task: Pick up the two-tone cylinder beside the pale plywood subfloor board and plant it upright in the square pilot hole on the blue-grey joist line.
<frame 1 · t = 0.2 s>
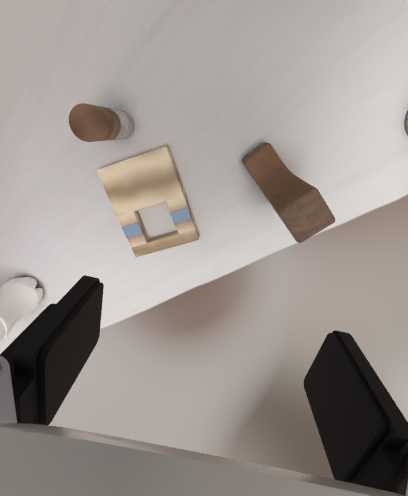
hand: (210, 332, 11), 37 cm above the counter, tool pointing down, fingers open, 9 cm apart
two-tone cylinder: (121, 125, 42), on the counter
water bottle: (30, 287, 56), on the counter
wooden block: (267, 173, 44), on the counter
subfloor board: (152, 203, 47), on the counter
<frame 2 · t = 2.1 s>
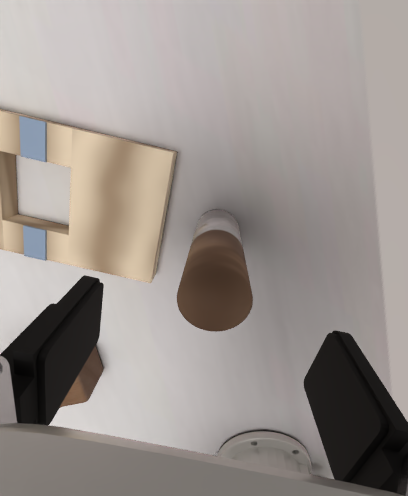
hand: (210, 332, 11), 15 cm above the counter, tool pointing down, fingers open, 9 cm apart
two-tone cylinder: (217, 230, 25), on the counter
wooden block: (65, 356, 33), on the counter
subfloor board: (81, 198, 25), on the counter
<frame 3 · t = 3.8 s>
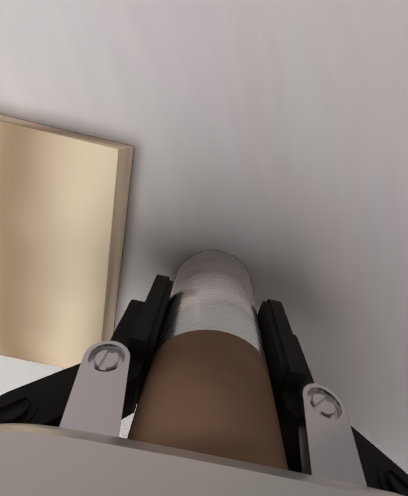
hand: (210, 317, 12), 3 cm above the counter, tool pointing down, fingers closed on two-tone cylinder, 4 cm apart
two-tone cylinder: (212, 284, 15), on the counter, touching gripper
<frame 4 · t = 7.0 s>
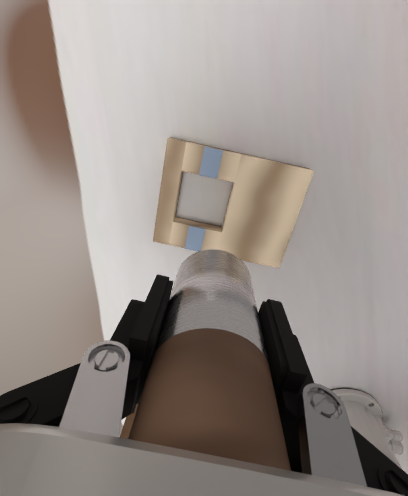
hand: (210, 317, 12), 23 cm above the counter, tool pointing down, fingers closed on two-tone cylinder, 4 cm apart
two-tone cylinder: (213, 283, 14), point 20 cm above the counter, touching gripper
subfloor board: (227, 204, 33), on the counter
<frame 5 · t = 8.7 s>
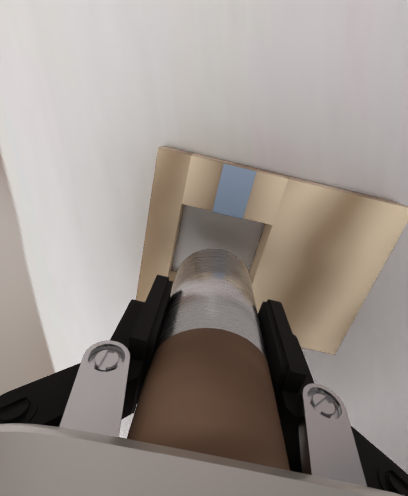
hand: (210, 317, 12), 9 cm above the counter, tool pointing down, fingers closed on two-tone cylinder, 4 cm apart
two-tone cylinder: (212, 283, 14), point 6 cm above the counter, touching gripper
subfloor board: (255, 253, 20), on the counter
when the fingers open (4 cm above the counter, at t = 10.0 s): two-tone cylinder drops 1 cm, resting in subfloor board.
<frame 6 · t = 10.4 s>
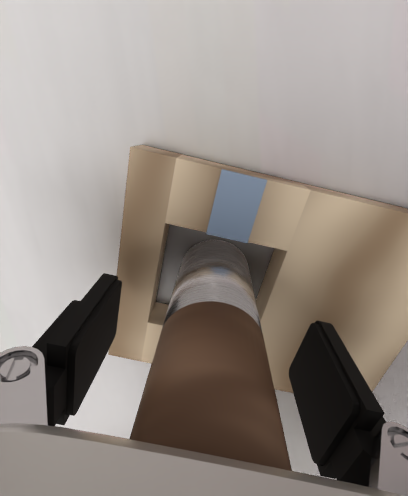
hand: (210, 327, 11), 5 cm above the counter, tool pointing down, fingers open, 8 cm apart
two-tone cylinder: (214, 271, 16), resting in subfloor board
subfloor board: (262, 282, 16), on the counter
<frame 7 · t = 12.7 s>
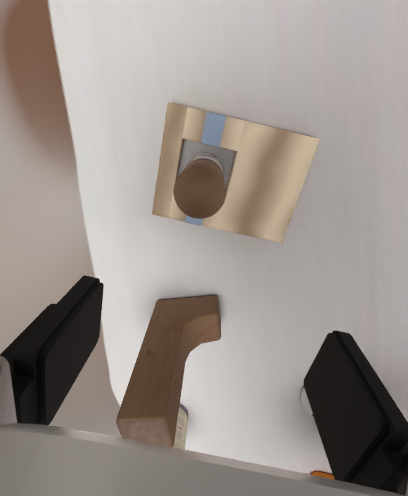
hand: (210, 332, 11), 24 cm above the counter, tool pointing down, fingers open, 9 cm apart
aerosol can: (169, 412, 50), on the counter
two-tone cylinder: (205, 170, 32), resting in subfloor board
wooden block: (189, 308, 40), on the counter
subfloor board: (229, 176, 32), on the counter
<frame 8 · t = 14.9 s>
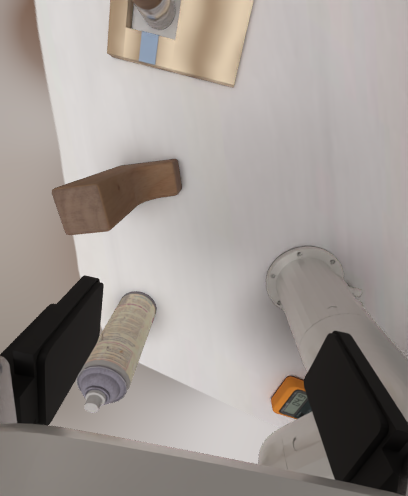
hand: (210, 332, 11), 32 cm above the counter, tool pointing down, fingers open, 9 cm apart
aerosol can: (138, 306, 50), on the counter
two-tone cylinder: (158, 9, 33), resting in subfloor board
multimeter: (315, 397, 58), on the counter
wooden block: (151, 177, 41), on the counter
subfloor board: (182, 15, 33), on the counter
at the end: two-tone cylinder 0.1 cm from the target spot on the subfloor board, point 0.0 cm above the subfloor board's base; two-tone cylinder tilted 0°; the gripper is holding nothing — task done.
